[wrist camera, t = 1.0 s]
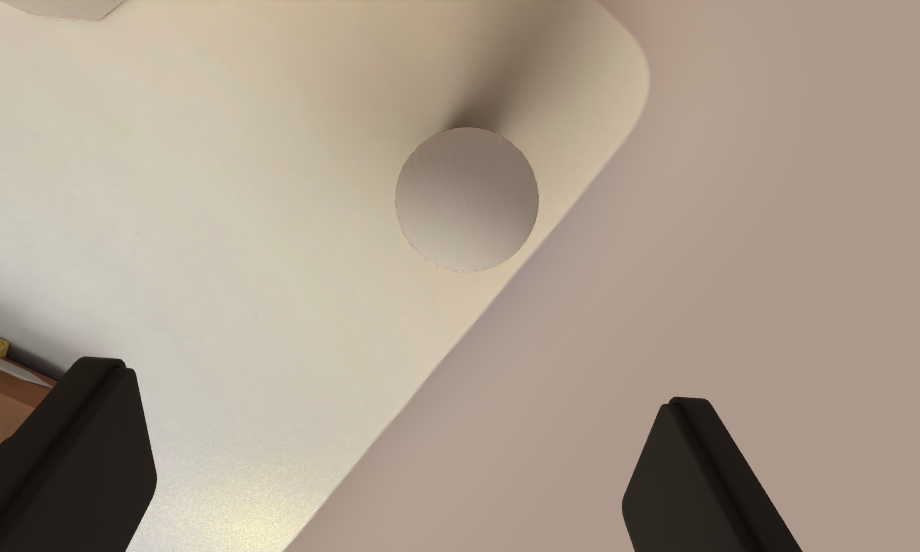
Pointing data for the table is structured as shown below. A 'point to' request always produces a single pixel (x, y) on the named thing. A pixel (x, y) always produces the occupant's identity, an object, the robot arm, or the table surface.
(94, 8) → the flask
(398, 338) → the table surface
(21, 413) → the book
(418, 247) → the light bulb
